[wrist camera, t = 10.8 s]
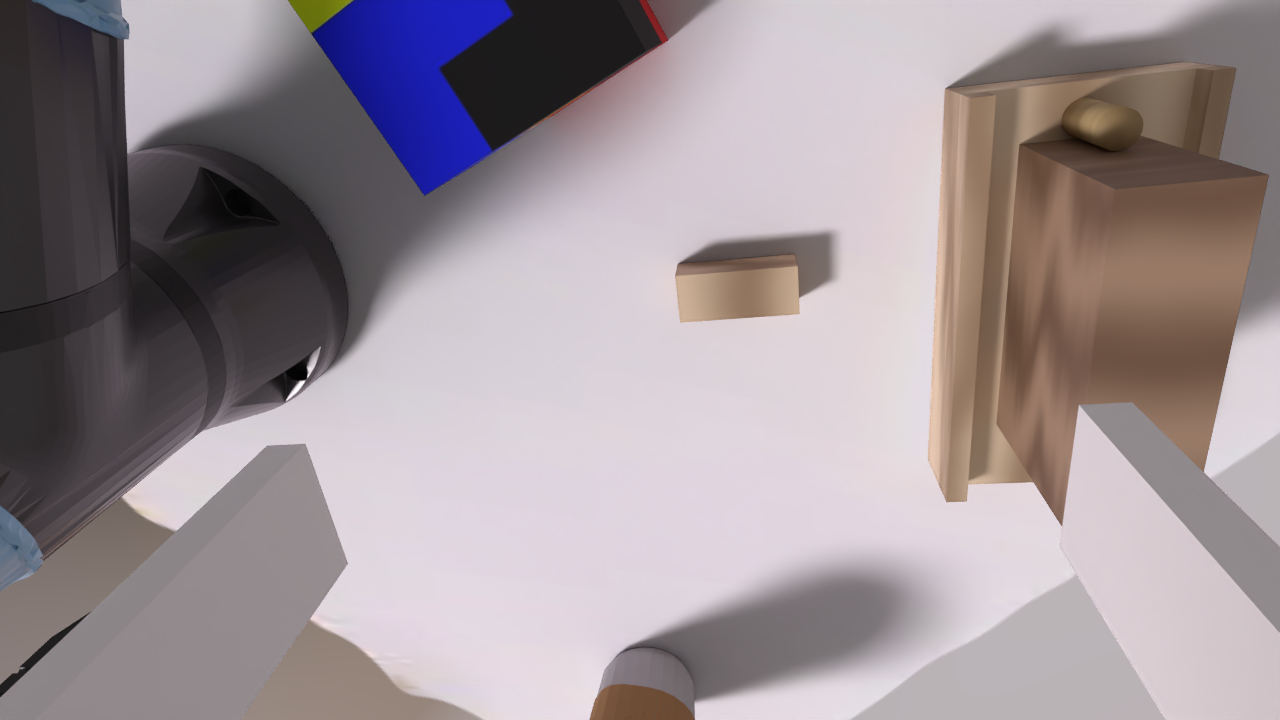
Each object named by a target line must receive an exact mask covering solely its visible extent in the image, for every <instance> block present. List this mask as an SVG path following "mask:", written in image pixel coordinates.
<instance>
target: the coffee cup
mask: <svg viewBox="0 0 1280 720" xmlns="http://www.w3.org/2000/svg"><path fill="white" fill-rule="evenodd" d="M590 720H695V710H694V683H693V680H692V678H691V675H690V674H689V673H688V670H687V668H686V667H685V666H684V664H683V663H682V662H681V661H680V660H679V659H677V658H676V657H675V656H674V655H672V654H670V653H667V652H665V651H663V650H659V649H655V648H645V647H640V648H634V649H630V650H627V651H625V652H622V653H621V654H619V655H618V656H617V657H615V658H614V659H613V661H612V662H611V663H610V664H609V665H608V666H607V668H606V669H605V670H604V674H603V677H602V681H601V684H600V688H599V692H598V695H597V698H596V699H595V702H594V706H593V709H592V713H591V717H590Z"/></svg>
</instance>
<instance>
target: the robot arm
mask: <svg viewBox="0 0 1280 720" xmlns="http://www.w3.org/2000/svg"><path fill="white" fill-rule="evenodd" d="M124 39H129V24H128V23H127V22H126V20H125V19H124V18H123V17H122V9H121V0H0V591H2V590H3V589H4V588H6V587H7V586H9V585H10V584H12V583H13V582H15V581H18V580H21V579H25V578H27V577H29V576H31V575H32V574H33V573H34V572H36V571H37V570H38V569H39V568H40V566H41V565H42V564H41V563H42V562H43V561H44V560H45V559H46V558H47V557H49V556H50V555H51V554H52V553H54V552H55V551H56V550H57V549H59V548H60V547H61V546H62V545H63V544H65V543H66V542H67V541H68V540H69V539H71V538H72V537H73V536H74V535H76V534H77V533H78V532H79V531H80V530H82V529H83V528H84V527H85V526H86V525H88V524H89V523H90V522H91V521H93V520H94V519H95V518H96V517H97V516H99V515H100V514H101V513H102V512H103V511H105V510H106V509H107V508H108V507H110V506H111V505H112V504H113V503H114V502H116V501H117V500H118V499H119V498H120V497H122V496H123V495H124V494H125V493H127V492H128V491H129V490H130V489H131V488H133V487H134V486H135V485H136V484H137V483H139V482H140V481H141V480H142V479H144V478H145V477H146V476H147V475H148V474H150V473H151V472H152V471H153V470H154V469H156V468H157V467H158V466H159V465H161V464H162V463H163V462H164V461H165V460H167V459H168V458H169V457H170V456H172V455H173V454H174V453H175V452H177V451H178V450H179V449H180V448H182V447H183V446H184V445H185V444H186V443H187V442H189V441H190V440H191V439H192V438H194V437H195V436H196V435H197V434H199V433H200V432H202V431H203V430H207V429H210V428H213V427H217V426H220V425H223V424H227V423H230V422H233V421H236V420H240V419H243V418H246V417H250V416H253V415H256V414H260V413H263V412H266V411H269V410H272V409H274V408H277V407H279V406H281V405H283V404H285V403H286V402H288V401H290V400H292V399H293V398H295V397H296V396H298V395H299V394H300V393H301V392H303V391H304V390H305V389H306V388H307V387H308V386H309V385H311V384H312V383H313V382H314V381H315V380H316V379H317V378H318V377H320V376H321V375H322V374H323V373H324V372H325V371H326V369H327V368H328V367H329V366H330V364H331V363H332V361H333V360H334V358H335V357H336V355H337V353H338V351H339V349H340V346H341V344H342V341H343V338H344V335H345V330H346V325H347V316H348V299H347V290H346V285H345V280H344V276H343V272H342V269H341V266H340V263H339V260H338V258H337V255H336V253H335V250H334V248H333V246H332V244H331V242H330V240H329V239H328V237H327V235H326V233H325V232H324V230H323V229H322V227H321V226H320V224H319V222H318V221H317V220H316V218H315V217H314V216H313V214H312V213H311V212H310V211H309V210H308V208H307V207H306V206H305V205H304V204H303V203H302V202H301V201H300V199H299V198H298V197H297V196H296V195H295V194H293V193H292V192H291V191H290V190H289V189H288V188H287V187H286V186H285V185H283V184H282V183H281V182H280V181H278V180H277V179H276V178H274V177H273V176H272V175H270V174H269V173H267V172H266V171H264V170H263V169H261V168H259V167H258V166H256V165H254V164H252V163H250V162H248V161H246V160H244V159H242V158H240V157H238V156H235V155H233V154H230V153H227V152H224V151H221V150H218V149H214V148H210V147H204V146H198V145H188V144H176V145H165V146H159V147H155V148H151V149H147V150H143V151H139V152H135V153H131V154H127V139H126V114H125V83H124ZM1059 547H1060V548H1061V550H1062V552H1063V553H1064V555H1065V557H1066V558H1067V560H1068V561H1069V563H1070V565H1071V566H1072V568H1073V570H1074V571H1075V573H1076V575H1077V576H1078V578H1079V579H1080V581H1081V583H1082V584H1083V586H1084V587H1085V589H1086V591H1087V592H1088V594H1089V595H1090V597H1091V599H1092V601H1093V602H1094V604H1095V606H1096V607H1097V609H1098V610H1099V612H1100V613H1101V615H1102V617H1103V619H1104V620H1105V622H1106V624H1107V625H1108V627H1109V628H1110V630H1111V632H1112V633H1113V635H1114V636H1115V638H1116V640H1117V642H1118V643H1119V645H1120V646H1121V648H1122V650H1123V651H1124V653H1125V655H1126V656H1127V658H1128V659H1129V661H1130V663H1131V664H1132V666H1133V668H1134V669H1135V671H1136V673H1137V674H1138V676H1139V677H1140V679H1141V681H1142V682H1143V684H1144V686H1145V687H1146V689H1147V691H1148V692H1149V694H1150V695H1151V697H1152V698H1153V700H1154V702H1155V704H1156V705H1157V707H1158V709H1159V710H1160V712H1161V713H1162V715H1163V717H1164V718H1165V720H1280V547H1279V546H1278V545H1277V544H1276V543H1275V542H1274V541H1273V540H1272V539H1271V538H1270V537H1269V536H1268V535H1267V534H1266V533H1265V532H1264V531H1263V530H1262V529H1261V528H1260V527H1259V526H1258V525H1257V524H1256V523H1255V522H1254V521H1253V520H1252V519H1251V518H1250V517H1249V516H1248V515H1247V514H1246V513H1245V512H1244V511H1243V510H1242V509H1241V508H1239V506H1238V505H1237V504H1236V503H1235V502H1233V501H1232V500H1231V499H1230V498H1229V497H1228V496H1227V495H1226V494H1225V493H1224V492H1223V491H1222V490H1221V489H1220V488H1219V487H1218V486H1217V485H1216V484H1215V483H1214V482H1213V481H1212V480H1211V479H1210V478H1209V477H1208V476H1207V475H1206V474H1205V473H1204V472H1203V471H1202V470H1201V469H1200V468H1199V467H1198V466H1197V465H1196V464H1195V463H1194V462H1193V461H1192V460H1191V459H1190V458H1189V457H1188V456H1186V455H1185V454H1184V453H1183V452H1182V451H1181V450H1180V449H1179V448H1178V447H1177V446H1176V445H1175V444H1174V443H1173V442H1172V441H1171V440H1170V439H1169V438H1168V437H1167V436H1166V435H1165V434H1164V433H1163V432H1162V431H1161V430H1160V429H1159V428H1158V427H1157V426H1156V425H1155V424H1154V423H1153V422H1152V421H1151V420H1150V419H1149V418H1148V417H1147V416H1146V415H1145V414H1144V413H1143V412H1142V411H1141V410H1139V409H1138V408H1137V407H1136V406H1135V405H1134V404H1133V403H1132V402H1128V403H1108V404H1089V405H1079V408H1078V415H1077V422H1076V430H1075V437H1074V444H1073V451H1072V459H1071V466H1070V473H1069V480H1068V487H1067V495H1066V502H1065V509H1064V516H1063V524H1062V531H1061V538H1060V545H1059ZM347 564H348V563H347V560H346V557H345V554H344V551H343V549H342V546H341V543H340V540H339V537H338V534H337V532H336V529H335V526H334V523H333V520H332V517H331V515H330V512H329V509H328V506H327V503H326V500H325V498H324V495H323V492H322V489H321V486H320V484H319V481H318V478H317V475H316V472H315V469H314V467H313V464H312V461H311V458H310V455H309V452H308V450H307V447H306V444H294V445H274V446H266V447H265V448H264V449H263V450H262V451H261V452H260V453H259V454H258V455H257V456H256V457H255V458H254V459H253V460H252V461H251V462H250V463H248V464H247V465H246V466H245V467H244V468H243V469H242V470H241V471H240V472H239V473H238V474H237V475H236V476H235V477H234V478H233V479H231V480H230V481H229V482H228V483H227V484H226V485H225V486H224V487H223V488H222V489H221V490H220V491H219V492H218V493H217V494H216V495H215V496H213V497H212V498H211V499H210V500H209V501H208V502H207V503H206V504H205V505H204V506H203V507H202V508H201V509H200V510H199V511H198V512H196V513H195V514H194V515H193V516H192V517H191V518H190V519H189V520H188V521H187V522H186V523H185V524H184V525H183V526H182V527H181V528H180V529H178V530H177V531H176V532H175V533H174V534H173V535H172V536H171V537H170V538H169V539H168V540H167V541H166V542H165V543H164V544H163V545H162V546H160V547H159V548H158V549H157V550H156V551H155V552H154V553H153V554H152V555H151V556H150V557H149V558H148V559H147V560H146V561H145V562H143V563H142V564H141V565H140V566H139V567H138V568H137V569H136V570H135V571H134V572H133V573H132V574H131V575H130V576H129V577H128V578H127V579H125V580H124V581H123V582H122V583H121V584H120V585H119V586H118V587H117V588H116V589H115V590H114V591H113V592H112V593H111V594H110V595H108V596H107V597H106V598H105V599H104V600H103V601H102V602H101V603H100V604H99V605H98V606H97V607H96V608H95V609H94V610H93V611H91V612H90V613H88V614H87V615H85V616H84V617H82V618H81V619H79V620H77V621H76V622H74V623H73V624H71V625H70V626H68V627H67V628H65V629H64V630H62V631H61V632H59V633H57V634H56V635H54V636H53V637H52V638H50V639H49V640H48V641H47V642H46V643H45V644H44V645H43V646H42V647H41V648H40V649H39V650H38V651H36V652H35V653H34V654H33V655H32V656H31V657H30V658H29V659H28V660H27V661H26V662H25V663H24V664H22V665H21V666H20V667H19V672H18V673H15V674H12V675H11V676H9V677H8V678H7V679H6V680H5V681H4V682H3V683H2V684H1V685H0V720H240V719H241V718H242V716H243V715H244V713H245V712H246V711H247V709H248V708H249V706H250V705H251V703H252V702H253V700H254V699H255V698H256V696H257V695H258V693H259V692H260V690H261V689H262V687H263V686H264V685H265V683H266V682H267V680H268V679H269V677H270V676H271V674H272V673H273V671H274V670H275V669H276V667H277V666H278V664H279V663H280V661H281V660H282V658H283V657H284V656H285V654H286V653H287V651H288V650H289V648H290V647H291V645H292V644H293V642H294V641H295V639H296V638H297V637H298V635H299V634H300V632H301V631H302V629H303V628H304V627H305V625H306V623H307V622H308V621H309V619H310V618H311V616H312V615H313V614H314V612H315V611H316V609H317V608H318V606H319V605H320V603H321V602H322V600H323V599H324V598H325V596H326V595H327V593H328V592H329V590H330V589H331V587H332V586H333V585H334V583H335V582H336V580H337V579H338V577H339V576H340V574H341V573H342V571H343V570H344V569H345V567H346V566H347Z"/></svg>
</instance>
